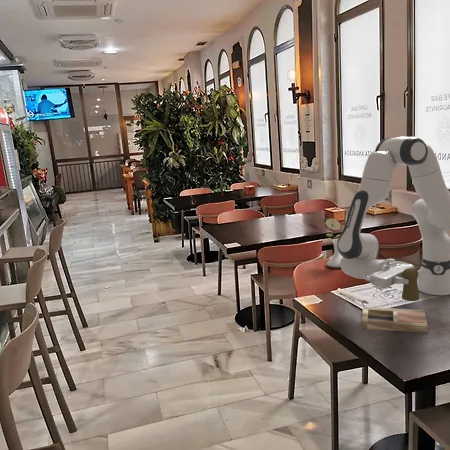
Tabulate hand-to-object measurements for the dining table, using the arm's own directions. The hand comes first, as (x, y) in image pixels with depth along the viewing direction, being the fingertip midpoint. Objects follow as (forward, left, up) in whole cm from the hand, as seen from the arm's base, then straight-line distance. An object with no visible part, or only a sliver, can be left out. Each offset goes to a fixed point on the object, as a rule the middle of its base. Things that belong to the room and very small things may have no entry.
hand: (413, 279), depth 162 cm
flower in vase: (-65, -34, -17) cm, 76 cm away
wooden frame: (0, -7, -17) cm, 19 cm away
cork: (0, -1, -7) cm, 8 cm away
